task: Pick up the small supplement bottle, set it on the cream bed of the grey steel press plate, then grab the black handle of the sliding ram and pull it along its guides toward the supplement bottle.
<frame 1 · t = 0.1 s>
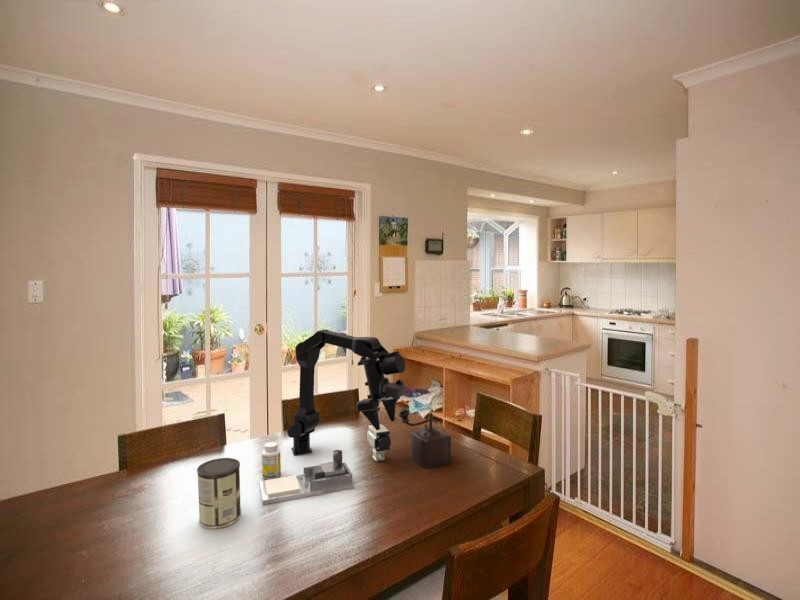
hand: (385, 425, 145), 15 cm above the table, tool pointing down, fingers open, 9 cm apart
pneumatic valve: (377, 459, 156), on the table
pepper mill: (423, 462, 155), on the table
coffee can: (220, 518, 119), on the table
press base: (306, 486, 136), on the table
ram: (327, 465, 138), point 5 cm above the table, slide at 0.0 cm
supplement bottle: (271, 476, 143), on the table
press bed: (282, 490, 134), resting on press base
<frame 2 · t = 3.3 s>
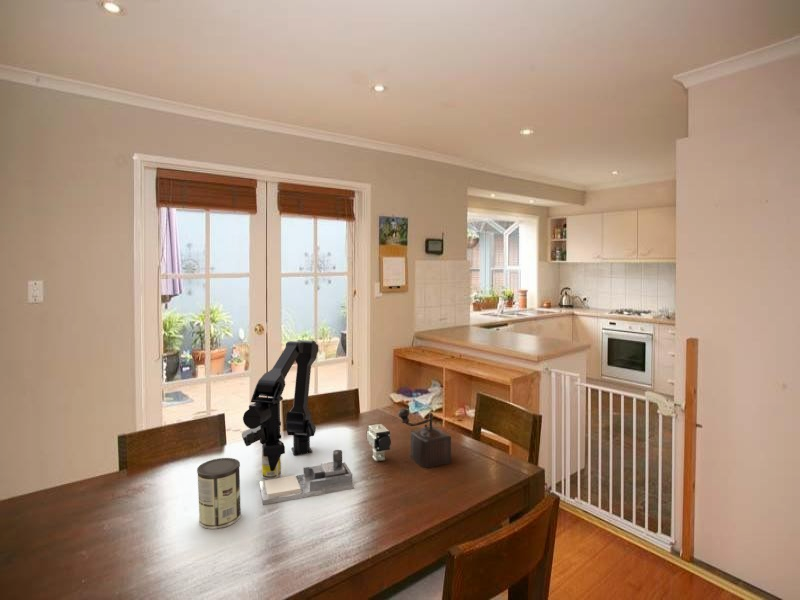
hand: (271, 466, 143), 3 cm above the table, tool pointing down, fingers closed on supplement bottle, 6 cm apart
supplement bottle: (271, 476, 143), on the table, touching gripper
everything else where it was.
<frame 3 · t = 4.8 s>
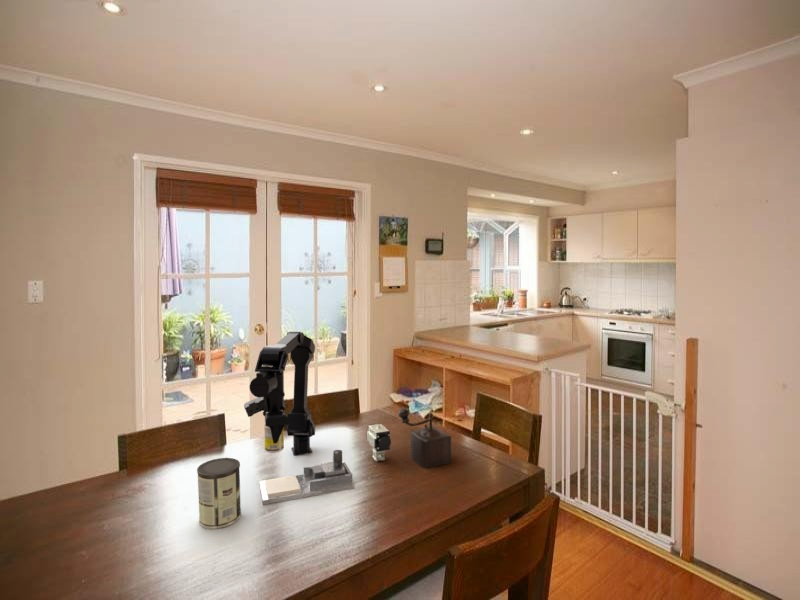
hand: (274, 439, 138), 13 cm above the table, tool pointing down, fingers closed on supplement bottle, 6 cm apart
supplement bottle: (274, 450, 138), point 10 cm above the table, touching gripper
everything else where it was.
when the fingers open (6 cm above the table, at t = 6.5 s): supplement bottle drops 1 cm, resting on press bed.
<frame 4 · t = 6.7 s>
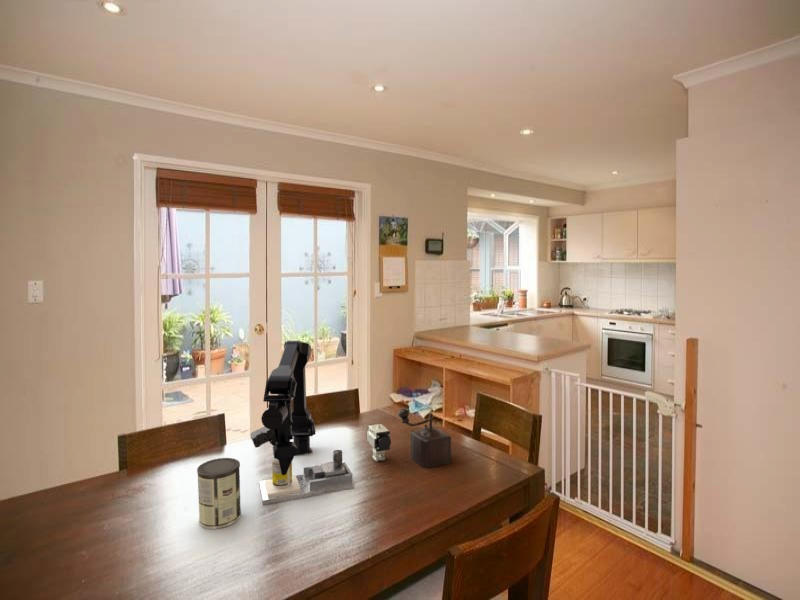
hand: (282, 469, 133), 6 cm above the table, tool pointing down, fingers open, 7 cm apart
supplement bottle: (282, 484, 134), point 2 cm above the table, touching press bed
everything else where it was.
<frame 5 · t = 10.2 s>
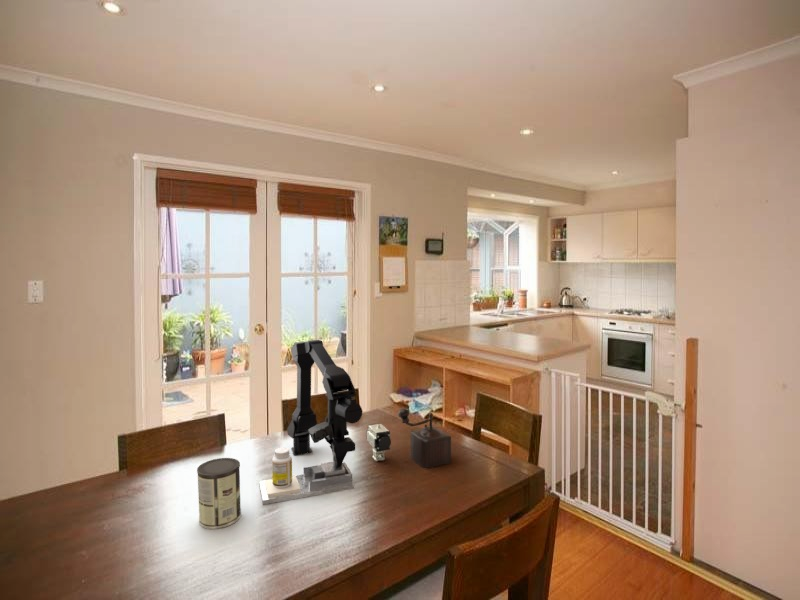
hand: (337, 464, 139), 6 cm above the table, tool pointing down, fingers closed on ram, 3 cm apart
ram: (327, 465, 138), point 5 cm above the table, slide at 0.0 cm, touching gripper
everything else where it was.
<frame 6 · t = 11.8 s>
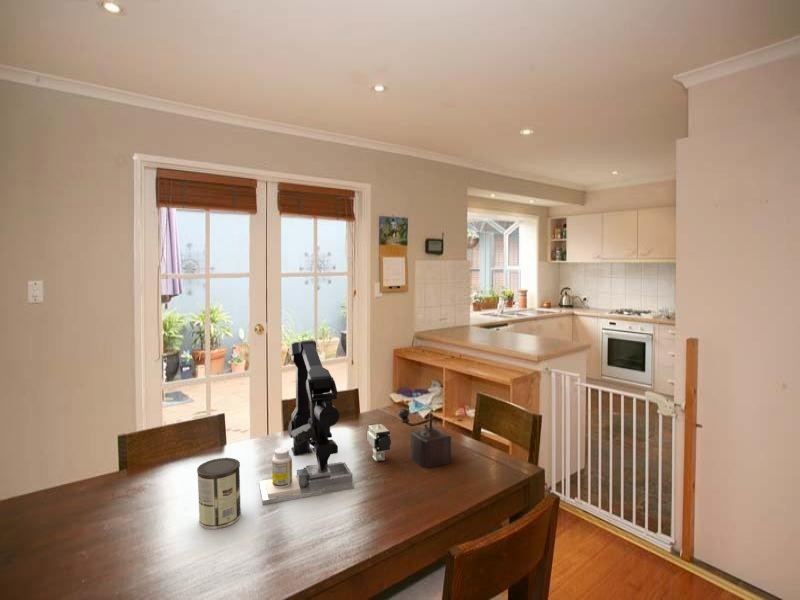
hand: (321, 466, 138), 6 cm above the table, tool pointing down, fingers closed on ram, 3 cm apart
ram: (313, 468, 137), point 5 cm above the table, slide at 4.5 cm, touching gripper, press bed
everything else where it was.
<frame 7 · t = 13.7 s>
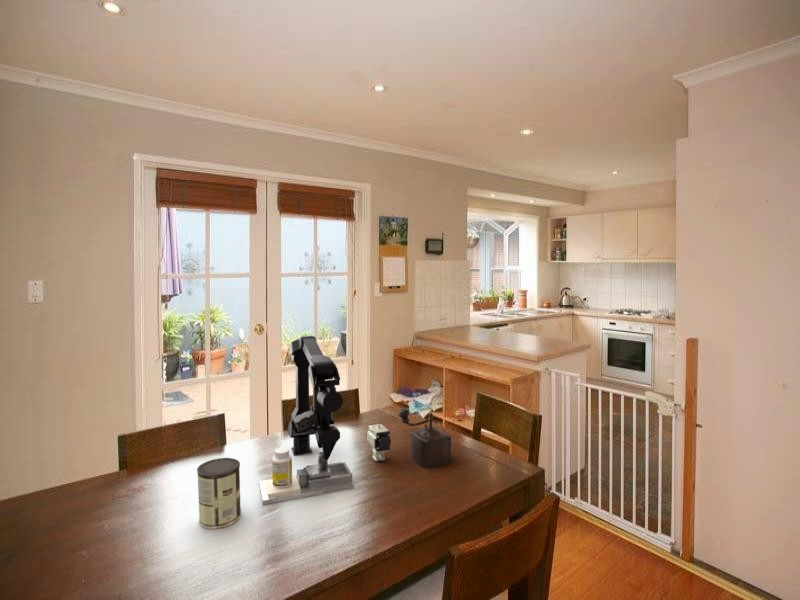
hand: (323, 453, 137), 10 cm above the table, tool pointing down, fingers open, 9 cm apart
ram: (313, 468, 137), point 5 cm above the table, slide at 4.5 cm, touching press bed
everything else where it was.
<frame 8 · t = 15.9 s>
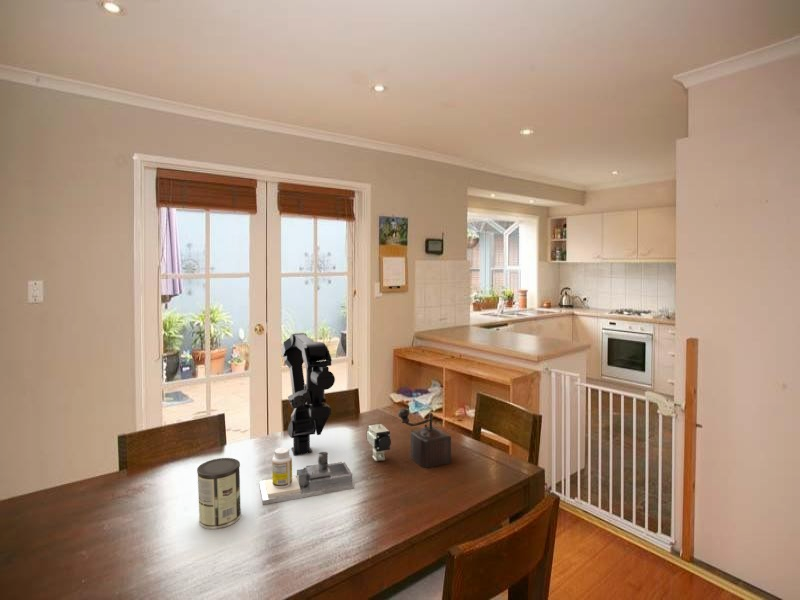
hand: (315, 429, 148), 13 cm above the table, tool pointing down, fingers open, 9 cm apart
nothing on the table moved.
at the end: supplement bottle 0.0 cm from the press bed (horizontally); supplement bottle tilted 0°; ram slide at 4.5 cm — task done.
